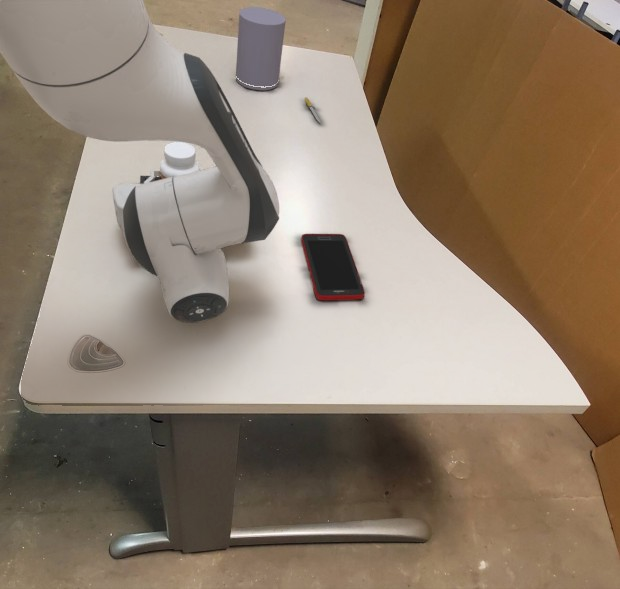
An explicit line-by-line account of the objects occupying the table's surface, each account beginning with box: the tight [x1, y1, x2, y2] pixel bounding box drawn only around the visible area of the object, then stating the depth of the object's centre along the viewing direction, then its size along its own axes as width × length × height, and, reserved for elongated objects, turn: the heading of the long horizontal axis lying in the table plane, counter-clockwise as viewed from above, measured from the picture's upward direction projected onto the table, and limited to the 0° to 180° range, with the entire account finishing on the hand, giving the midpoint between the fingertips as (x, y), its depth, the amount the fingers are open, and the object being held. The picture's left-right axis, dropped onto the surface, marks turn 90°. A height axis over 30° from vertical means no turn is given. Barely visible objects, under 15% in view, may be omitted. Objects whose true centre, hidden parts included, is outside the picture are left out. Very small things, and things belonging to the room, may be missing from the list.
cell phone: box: [300, 233, 366, 301], centre depth 84 cm, size 8×15×1 cm, turn 10°
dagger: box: [304, 96, 321, 124], centre depth 120 cm, size 11×1×2 cm
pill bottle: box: [159, 141, 201, 179], centre depth 84 cm, size 6×6×11 cm
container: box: [235, 6, 287, 92], centre depth 122 cm, size 10×10×15 cm
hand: (179, 174), depth 84 cm, fingers closed on pill bottle, 6 cm apart
